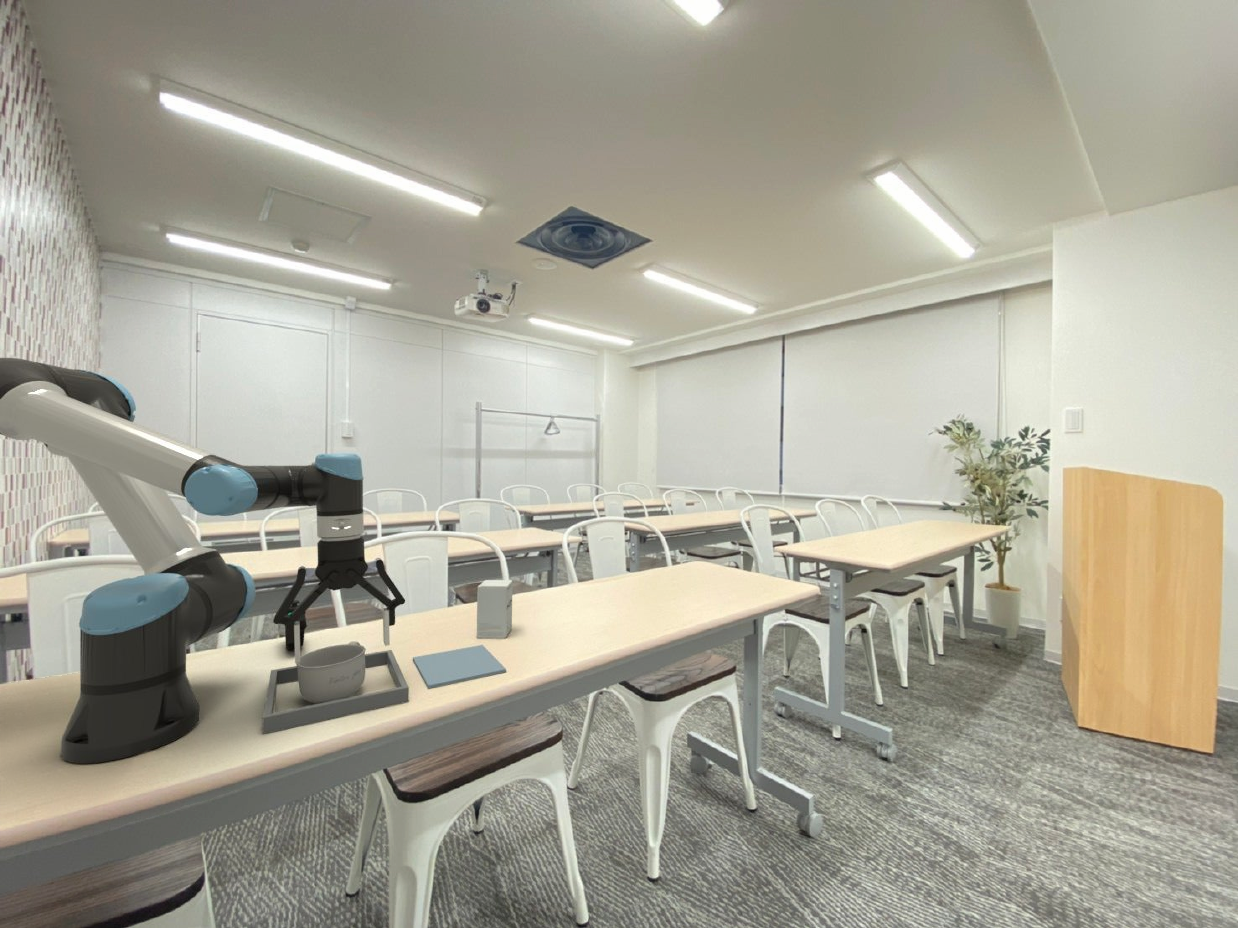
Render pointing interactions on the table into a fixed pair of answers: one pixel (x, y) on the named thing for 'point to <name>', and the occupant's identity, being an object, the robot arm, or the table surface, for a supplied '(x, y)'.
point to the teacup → (331, 672)
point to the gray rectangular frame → (335, 707)
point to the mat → (457, 666)
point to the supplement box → (494, 609)
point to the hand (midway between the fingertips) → (344, 653)
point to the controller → (302, 626)
